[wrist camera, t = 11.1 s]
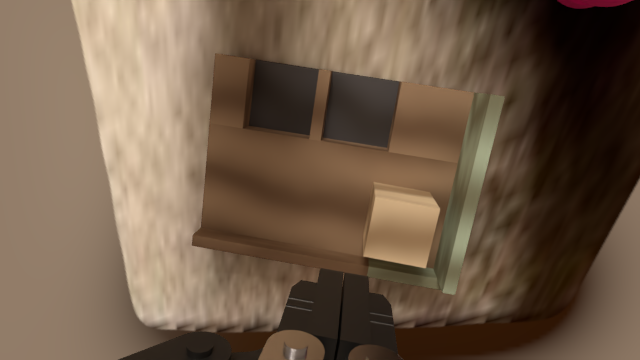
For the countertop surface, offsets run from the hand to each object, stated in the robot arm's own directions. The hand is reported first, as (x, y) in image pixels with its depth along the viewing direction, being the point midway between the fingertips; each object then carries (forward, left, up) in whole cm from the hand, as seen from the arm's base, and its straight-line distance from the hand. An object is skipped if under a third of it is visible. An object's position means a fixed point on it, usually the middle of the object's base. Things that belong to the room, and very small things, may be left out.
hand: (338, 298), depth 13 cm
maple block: (+4, +5, -24) cm, 25 cm away
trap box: (+1, -2, -27) cm, 27 cm away
